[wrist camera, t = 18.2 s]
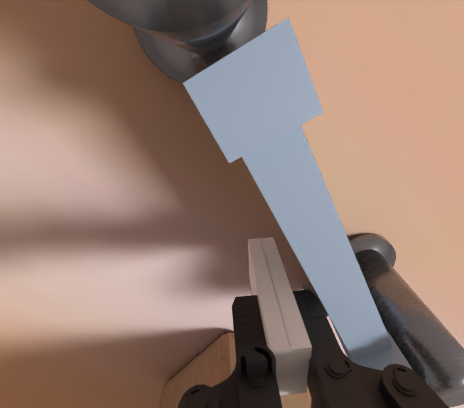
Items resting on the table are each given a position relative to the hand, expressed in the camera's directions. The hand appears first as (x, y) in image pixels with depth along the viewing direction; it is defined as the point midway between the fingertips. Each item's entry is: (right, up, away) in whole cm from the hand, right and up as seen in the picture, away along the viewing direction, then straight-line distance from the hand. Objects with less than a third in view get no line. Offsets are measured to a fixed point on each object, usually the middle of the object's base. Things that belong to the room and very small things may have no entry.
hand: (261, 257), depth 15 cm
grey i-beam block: (+2, +3, +1) cm, 4 cm away
